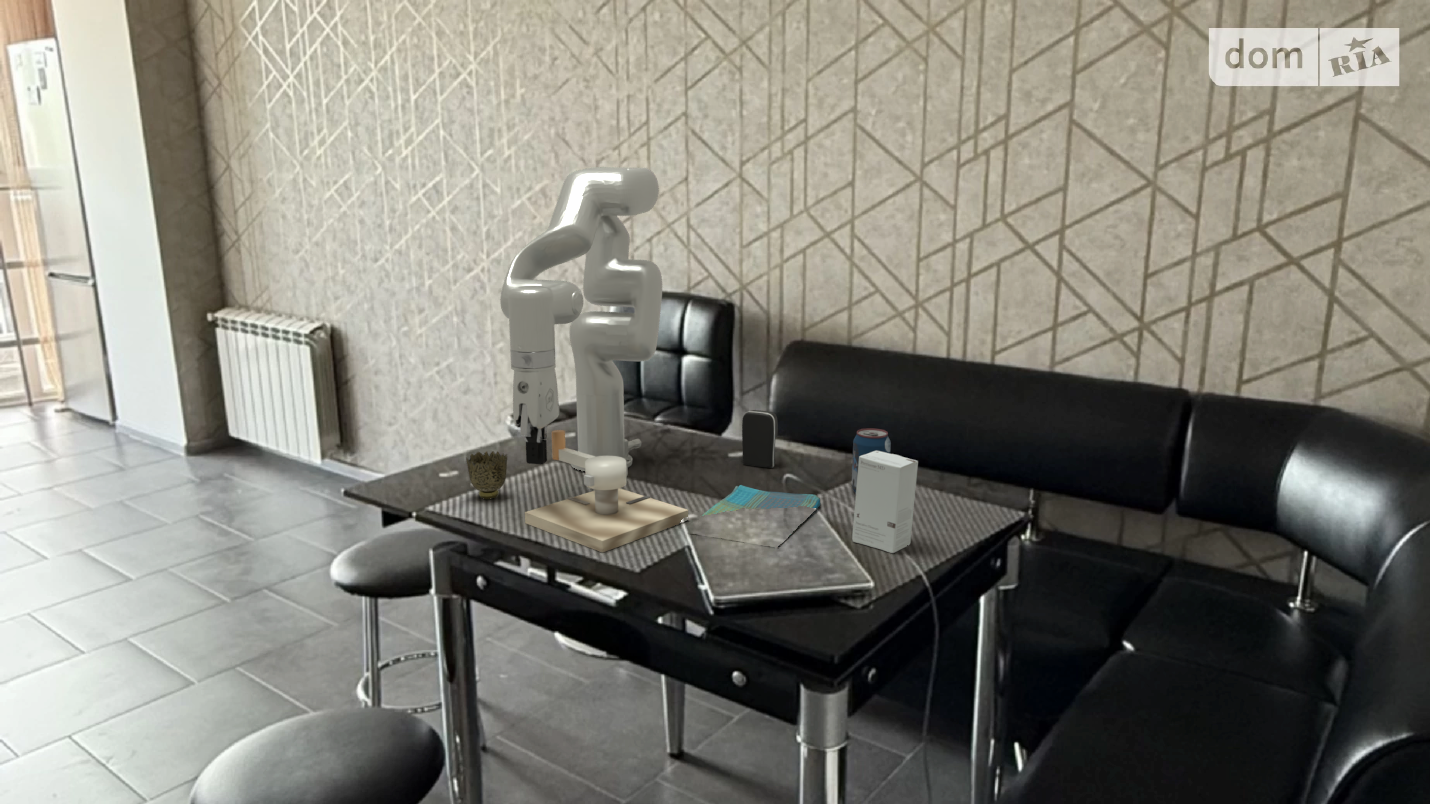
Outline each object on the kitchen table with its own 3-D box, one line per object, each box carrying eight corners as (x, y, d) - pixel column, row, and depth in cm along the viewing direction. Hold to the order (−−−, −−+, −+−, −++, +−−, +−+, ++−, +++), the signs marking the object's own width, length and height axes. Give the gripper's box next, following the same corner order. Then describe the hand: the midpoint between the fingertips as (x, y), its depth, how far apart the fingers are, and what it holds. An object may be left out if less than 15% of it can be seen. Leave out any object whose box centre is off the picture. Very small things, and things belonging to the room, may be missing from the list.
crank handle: (573, 462, 192) (572, 425, 190) (638, 482, 180) (637, 443, 179) (536, 472, 185) (534, 435, 184) (601, 494, 174) (600, 453, 173)
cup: (499, 505, 190) (497, 463, 188) (461, 502, 191) (459, 460, 189) (515, 492, 197) (513, 451, 195) (478, 489, 198) (476, 449, 196)
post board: (610, 495, 195) (610, 461, 193) (688, 520, 182) (688, 484, 180) (525, 523, 181) (523, 486, 179) (602, 552, 168) (601, 513, 166)
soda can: (895, 493, 197) (898, 432, 194) (874, 502, 192) (877, 439, 189) (865, 485, 201) (867, 425, 199) (844, 493, 196) (846, 432, 194)
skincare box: (851, 542, 172) (854, 456, 169) (870, 532, 177) (874, 448, 173) (895, 555, 167) (899, 466, 163) (914, 544, 171) (919, 457, 168)
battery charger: (779, 464, 215) (780, 410, 212) (772, 469, 211) (773, 414, 208) (747, 460, 217) (748, 407, 215) (740, 465, 214) (741, 411, 211)
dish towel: (823, 507, 190) (823, 494, 190) (779, 551, 170) (779, 537, 169) (736, 495, 197) (736, 482, 197) (683, 536, 176) (683, 522, 176)
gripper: (537, 368, 169) (541, 476, 173) (569, 352, 183) (571, 452, 188) (494, 366, 171) (499, 473, 175) (529, 350, 185) (532, 449, 189)
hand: (536, 462), depth 181 cm, fingers closed
